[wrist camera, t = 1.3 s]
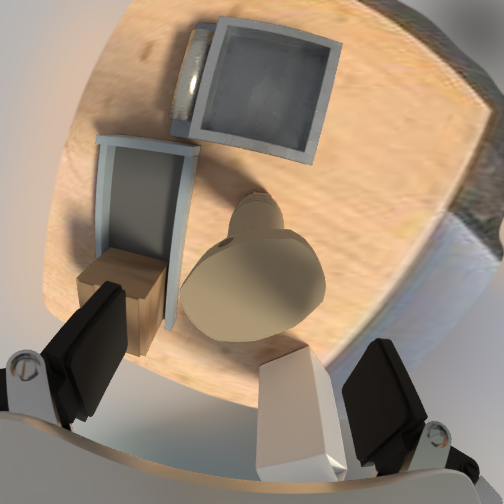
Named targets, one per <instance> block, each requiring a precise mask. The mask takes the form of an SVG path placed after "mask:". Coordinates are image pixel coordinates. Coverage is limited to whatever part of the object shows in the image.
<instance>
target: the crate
mask: <svg viewBox="0 0 504 504" xmlns="http://www.w3.org/2000/svg"><path fill="white" fill-rule="evenodd" d="M168 270H169V262H167V261H163V260H159V259H155V258H151V257H147V256H143V255H139V254H136V253H132V252H128V251H124V250H120V249H116V248H112V247H110V248H109V249H108V250H107V251H105V252H104V253H103V254H102V255H101V256H100V257H99V258H97V259H96V260H95V261H94V262H93V263H92V264H91V265H90V266H89V267H88V268H86V269H85V270H84V271H83V272H82V273H81V274H80V275H79V276H78V277H77V278H76V281H77V290H78V297H79V304H80V308H81V307H82V306H83V305H84V304H85V303H86V302H87V301H88V300H89V298H90V297H91V296H92V295H93V294H94V293H95V292H96V291H97V290H98V289H99V288H100V286H101V285H102V284H103V283H104V282H105V281H111V282H114V283H117V284H120V285H121V286H122V289H123V290H125V291H126V317H127V336H128V347H127V351H126V353H129V354H132V355H135V356H138V357H140V355H143V356H146V354H147V351H148V349H149V347H150V345H151V343H152V341H153V339H154V337H155V334H156V332H157V330H158V328H159V326H160V324H161V322H162V320H163V318H164V316H165V307H166V293H167V281H168Z"/></svg>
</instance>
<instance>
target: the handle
mask: <svg viewBox="0 0 504 504" xmlns="http://www.w3.org/2000/svg"><path fill="white" fill-rule="evenodd" d="M325 289H326V283H325V276H324V273H323V270H322V267H321V265H320V262H319V260H318V258H317V256H316V254H315V252H314V250H313V249H312V247H311V246H310V245H309V243H308V242H307V241H306V240H305V239H304V238H303V237H301V236H300V235H299V234H297V233H295V232H293V231H292V230H287V229H284V221H283V216H282V213H281V210H280V208H279V206H278V204H277V203H276V202H275V201H274V199H273V198H272V196H271V195H270V194H269V193H267V192H266V193H256V192H254V191H251V192H249V193H248V194H247V195H246V197H244V198H243V199H242V200H241V201H240V202H239V204H238V205H237V207H236V208H235V210H234V212H233V214H232V217H231V220H230V224H229V230H228V236H227V238H226V239H224V240H222V241H221V242H219V243H218V244H216V245H215V246H213V247H212V248H210V249H209V250H208V251H207V252H206V253H205V254H204V255H203V256H202V257H201V259H200V260H199V261H198V263H197V264H196V265H195V266H194V268H193V269H192V271H191V272H190V273H189V275H188V276H187V278H186V279H185V281H184V283H183V285H182V287H181V289H180V299H181V304H182V307H183V309H184V311H185V313H186V315H187V316H188V318H189V319H190V321H191V322H192V323H193V324H194V325H195V326H196V328H197V329H199V330H200V331H201V332H202V333H203V334H205V335H207V336H208V337H210V338H212V339H214V340H217V341H227V342H248V341H257V340H261V339H265V338H268V337H270V336H273V335H276V334H279V333H281V332H284V331H286V330H288V329H290V328H292V327H294V326H296V325H297V324H299V323H300V322H301V321H303V320H304V319H305V318H306V317H307V316H308V315H309V314H310V313H311V312H312V311H313V310H314V309H315V308H316V307H317V306H318V305H319V304H320V303H322V302H323V299H324V295H325Z"/></svg>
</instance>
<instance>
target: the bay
mask: <svg viewBox="0 0 504 504" xmlns="http://www.w3.org/2000/svg"><path fill="white" fill-rule="evenodd" d="M95 144H101V146H100V154H99V163H98V174H97V188H96V209H95V255H96V259H97V258H99V257H100V256H101V255H102V254H103V253H104V252H105V251H107V250H108V249H109V248H110V247H112V248H116V249H120V250H124V251H128V252H132V253H136V254H139V255H143V256H147V257H151V258H155V259H159V260H163V261H167V262H169V270H168V281H167V293H166V307H165V316H164V318H163V319H165V330H169V331H171V330H172V328H173V325H174V323H175V321H176V310H177V300H178V291H179V282H180V273H181V265H182V257H183V249H184V242H185V235H186V228H187V222H188V215H189V209H190V203H191V197H192V191H193V186H194V180H195V175H196V169H197V164H198V159H199V154H200V149H201V146H199V145H193V144H187V143H181V142H174V141H168V140H161V139H154V138H146V137H138V136H129V135H119V134H105V135H96V142H95Z"/></svg>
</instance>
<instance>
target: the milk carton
mask: <svg viewBox="0 0 504 504" xmlns="http://www.w3.org/2000/svg"><path fill="white" fill-rule="evenodd" d="M256 471H257V473H258V475H259V477H260V478H261V481H262V482H278V483H319V482H337V481H344V478H345V475H346V472H347V466H346V459H345V453H344V448H343V442H342V436H341V430H340V425H339V420H338V415H337V409H336V404H335V399H334V394H333V390H332V385H331V380H330V376H329V374H328V373H327V371H326V370H325V368H324V367H323V365H322V364H321V363H320V361H319V360H318V358H317V357H316V355H315V354H314V352H313V351H312V350H311V348H310V347H309V346H307V347H305V348H302V349H300V350H298V351H295V352H293V353H290V354H288V355H286V356H283V357H281V358H278V359H276V360H273V361H271V362H268V363H265V364H263V365H261V366H260V367H259V398H258V428H257V455H256Z"/></svg>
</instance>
